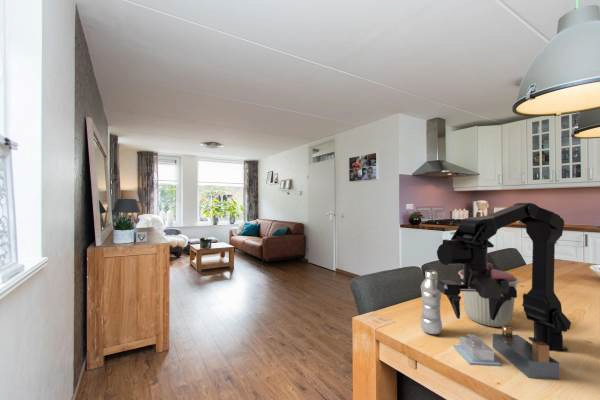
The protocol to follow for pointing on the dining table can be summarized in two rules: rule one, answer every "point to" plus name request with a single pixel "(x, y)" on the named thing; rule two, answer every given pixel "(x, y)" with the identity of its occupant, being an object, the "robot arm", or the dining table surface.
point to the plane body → (526, 355)
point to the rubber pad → (475, 361)
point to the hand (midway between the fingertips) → (475, 319)
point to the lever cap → (476, 348)
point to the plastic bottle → (431, 304)
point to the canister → (480, 306)
